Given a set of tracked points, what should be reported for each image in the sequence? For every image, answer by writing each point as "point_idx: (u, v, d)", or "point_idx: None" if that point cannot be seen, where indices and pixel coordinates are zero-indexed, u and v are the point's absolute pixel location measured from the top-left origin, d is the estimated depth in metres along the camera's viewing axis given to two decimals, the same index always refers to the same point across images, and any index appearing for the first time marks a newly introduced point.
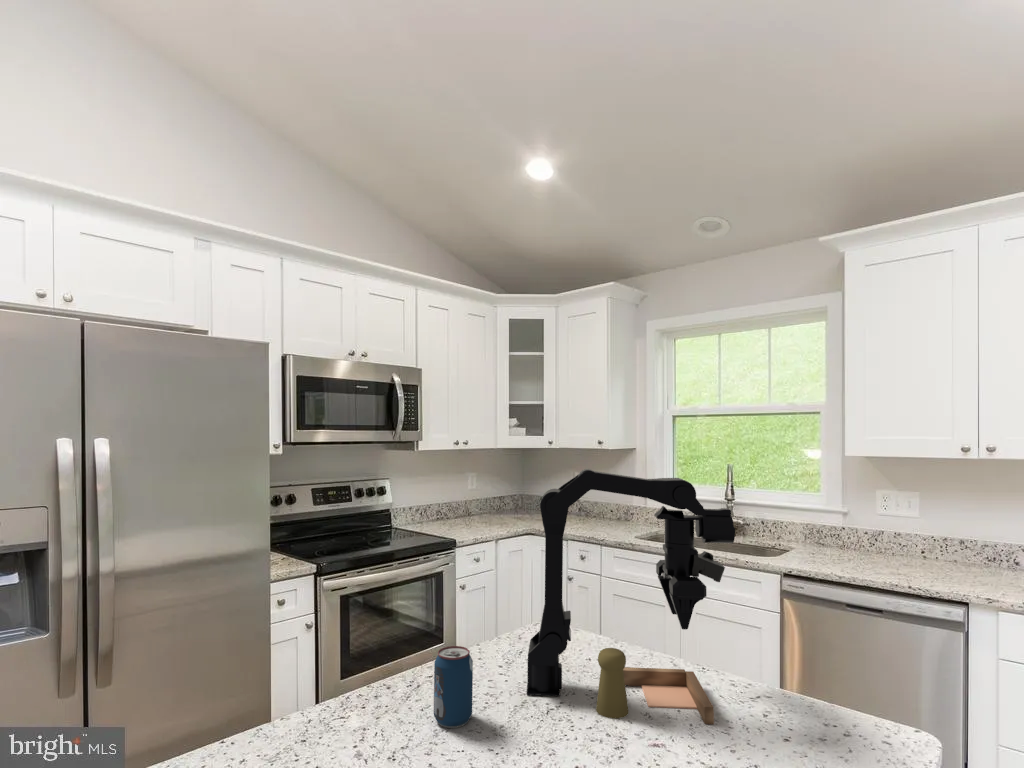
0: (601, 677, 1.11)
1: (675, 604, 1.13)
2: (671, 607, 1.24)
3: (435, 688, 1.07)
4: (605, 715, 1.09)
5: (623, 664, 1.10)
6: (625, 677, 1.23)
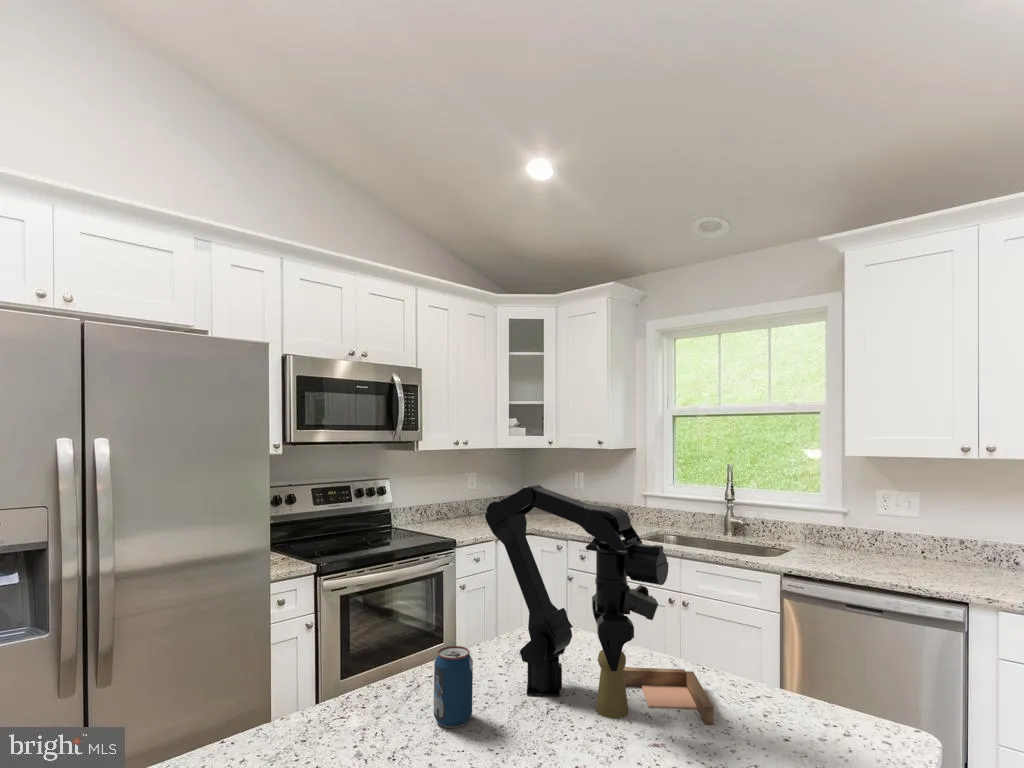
0: (601, 677, 1.11)
1: (602, 645, 1.07)
2: None
3: (435, 688, 1.07)
4: (605, 715, 1.09)
5: (623, 664, 1.10)
6: (625, 677, 1.23)
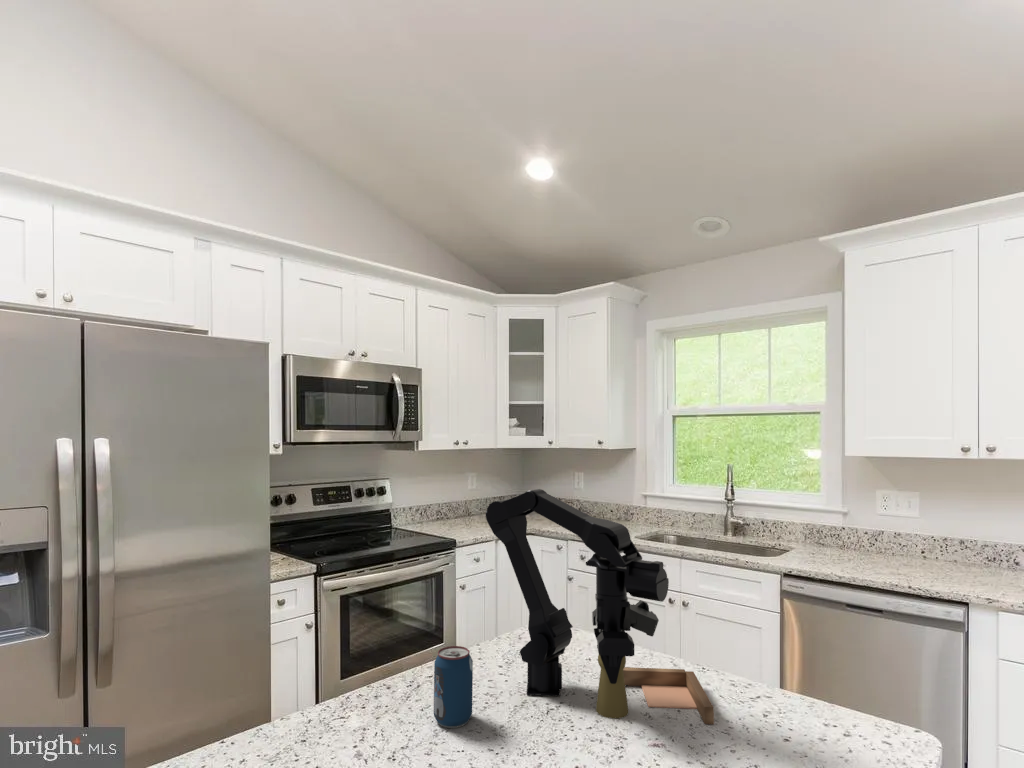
0: (601, 677, 1.11)
1: (602, 658, 1.08)
2: None
3: (435, 688, 1.07)
4: (605, 715, 1.09)
5: (623, 663, 1.10)
6: (625, 677, 1.23)
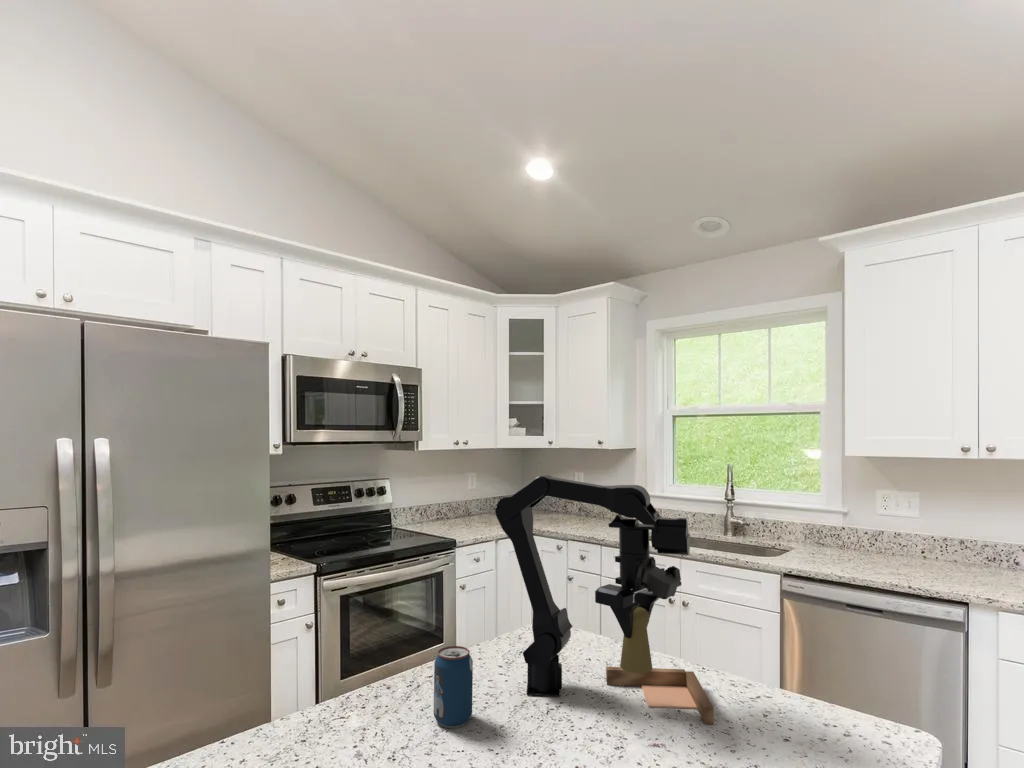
0: None
1: (613, 610, 1.13)
2: None
3: (435, 688, 1.07)
4: (622, 667, 1.13)
5: (639, 621, 1.12)
6: (625, 677, 1.23)
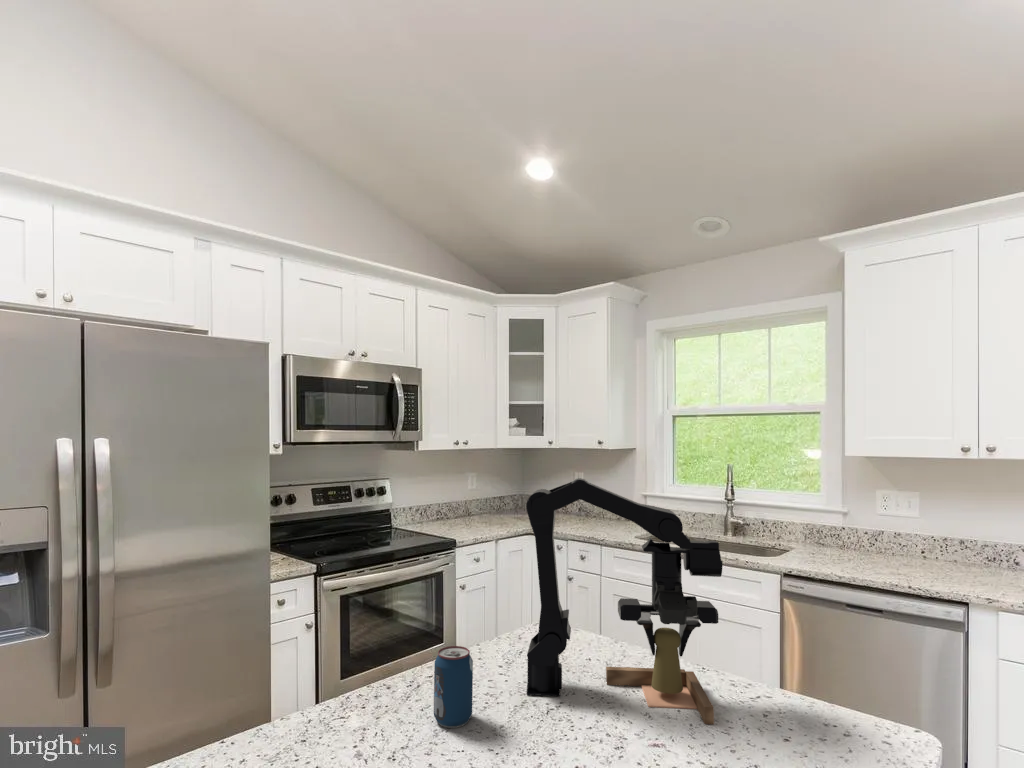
0: None
1: None
2: None
3: (435, 688, 1.07)
4: None
5: (659, 641, 1.16)
6: (625, 677, 1.23)
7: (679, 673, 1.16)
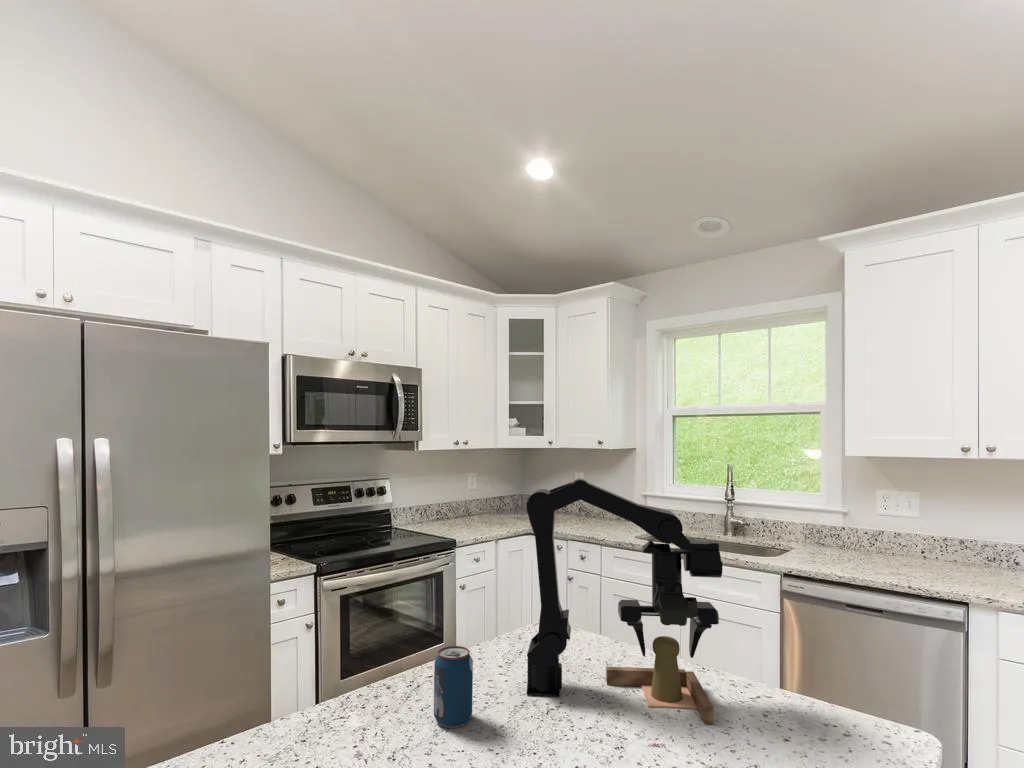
0: None
1: None
2: (689, 648, 1.18)
3: (435, 688, 1.07)
4: None
5: (658, 650, 1.16)
6: (625, 677, 1.23)
7: (678, 682, 1.16)
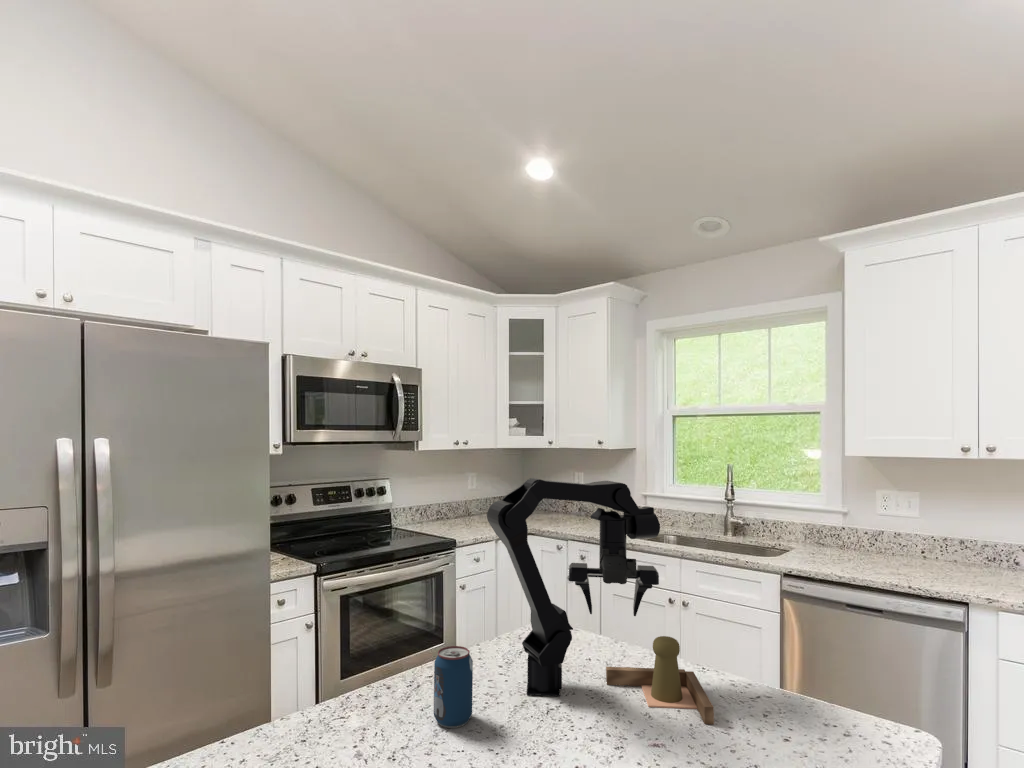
0: None
1: None
2: (633, 608, 1.28)
3: (435, 688, 1.07)
4: None
5: (658, 650, 1.16)
6: (625, 677, 1.23)
7: (678, 682, 1.16)
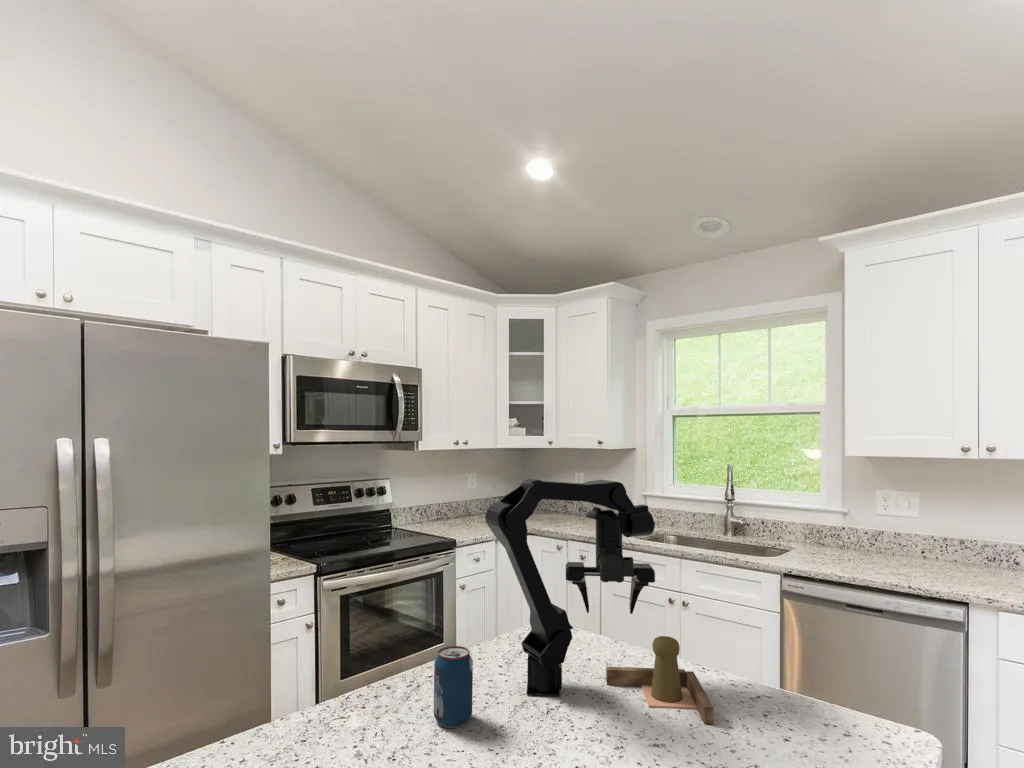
0: None
1: None
2: None
3: (435, 688, 1.07)
4: None
5: (658, 650, 1.16)
6: (625, 677, 1.23)
7: (678, 682, 1.16)
